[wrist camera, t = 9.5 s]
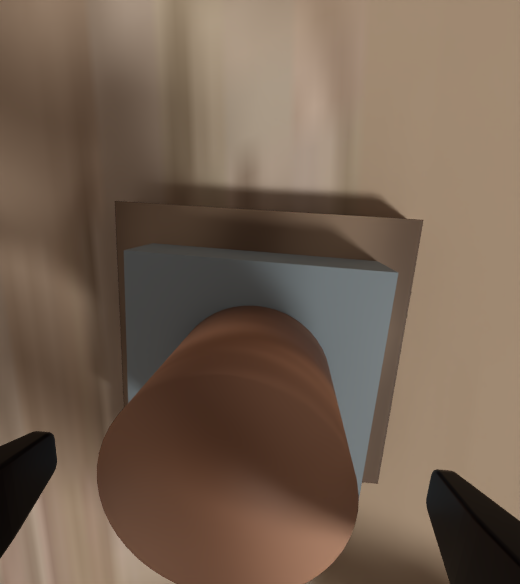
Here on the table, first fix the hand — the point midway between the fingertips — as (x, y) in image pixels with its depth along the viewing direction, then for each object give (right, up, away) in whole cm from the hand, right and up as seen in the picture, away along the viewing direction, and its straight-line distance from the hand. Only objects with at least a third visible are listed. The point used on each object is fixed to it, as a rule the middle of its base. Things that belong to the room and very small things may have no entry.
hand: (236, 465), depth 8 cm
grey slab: (0, +1, +6) cm, 7 cm away
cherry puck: (0, +1, +4) cm, 4 cm away
